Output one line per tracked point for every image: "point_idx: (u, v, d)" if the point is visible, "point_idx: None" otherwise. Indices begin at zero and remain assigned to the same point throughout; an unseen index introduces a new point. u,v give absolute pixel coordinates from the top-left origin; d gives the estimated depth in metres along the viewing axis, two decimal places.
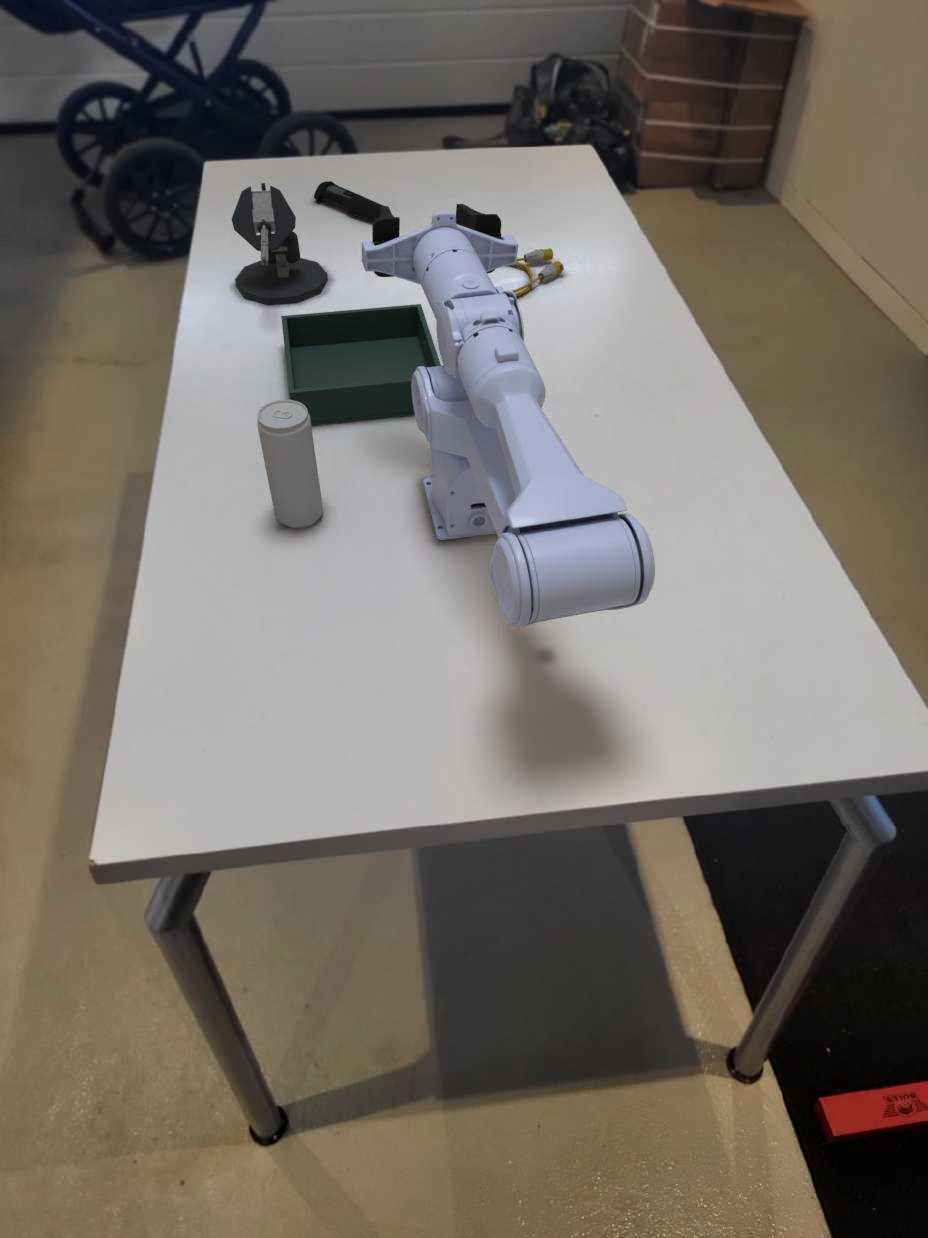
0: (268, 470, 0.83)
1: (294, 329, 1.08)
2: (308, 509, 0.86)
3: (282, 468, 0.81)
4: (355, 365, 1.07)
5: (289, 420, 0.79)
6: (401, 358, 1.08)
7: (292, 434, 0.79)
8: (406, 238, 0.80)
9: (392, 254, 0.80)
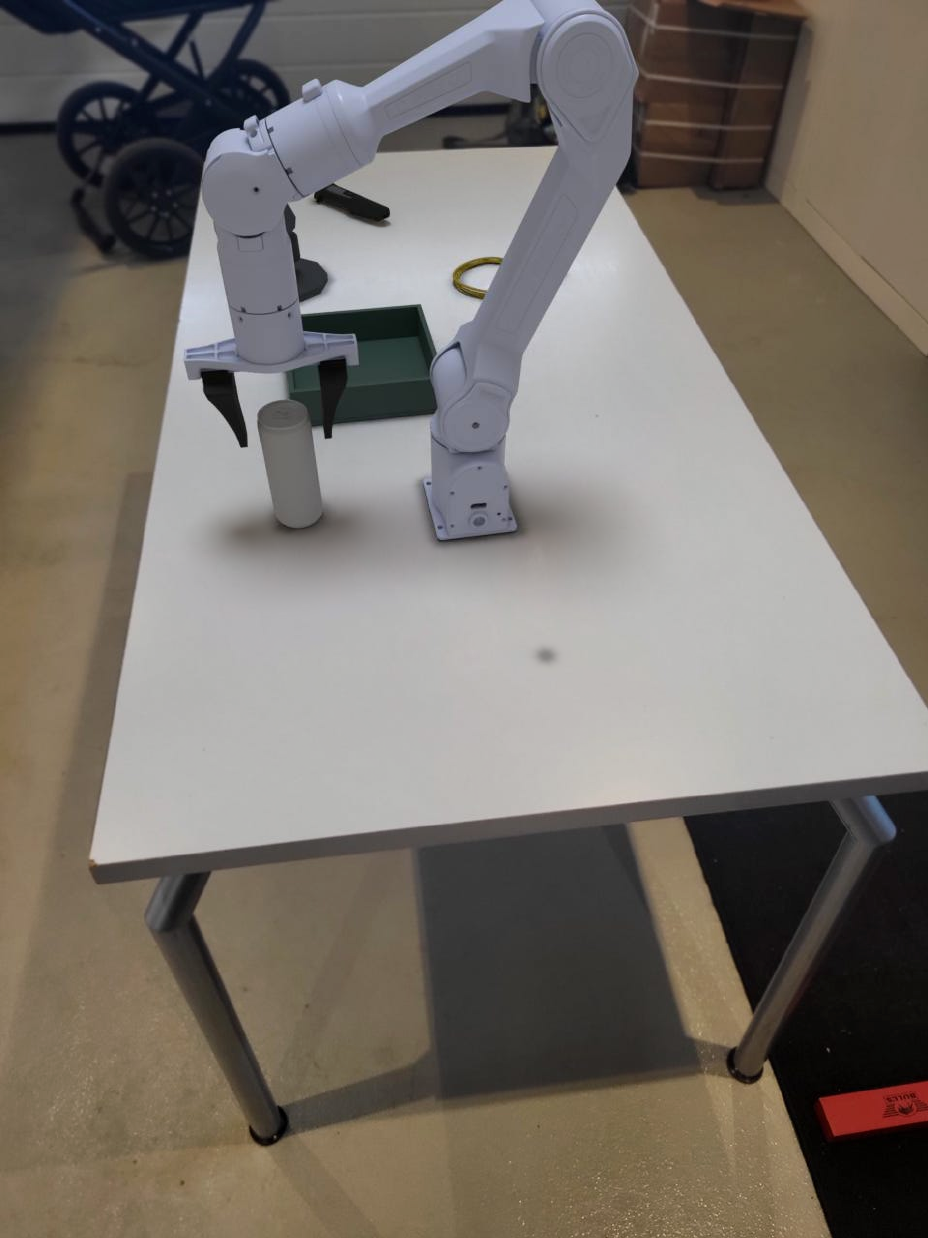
0: (268, 470, 0.83)
1: None
2: (308, 509, 0.86)
3: (282, 468, 0.81)
4: (355, 365, 1.07)
5: (289, 420, 0.79)
6: (401, 358, 1.08)
7: (292, 434, 0.79)
8: (229, 339, 0.76)
9: None
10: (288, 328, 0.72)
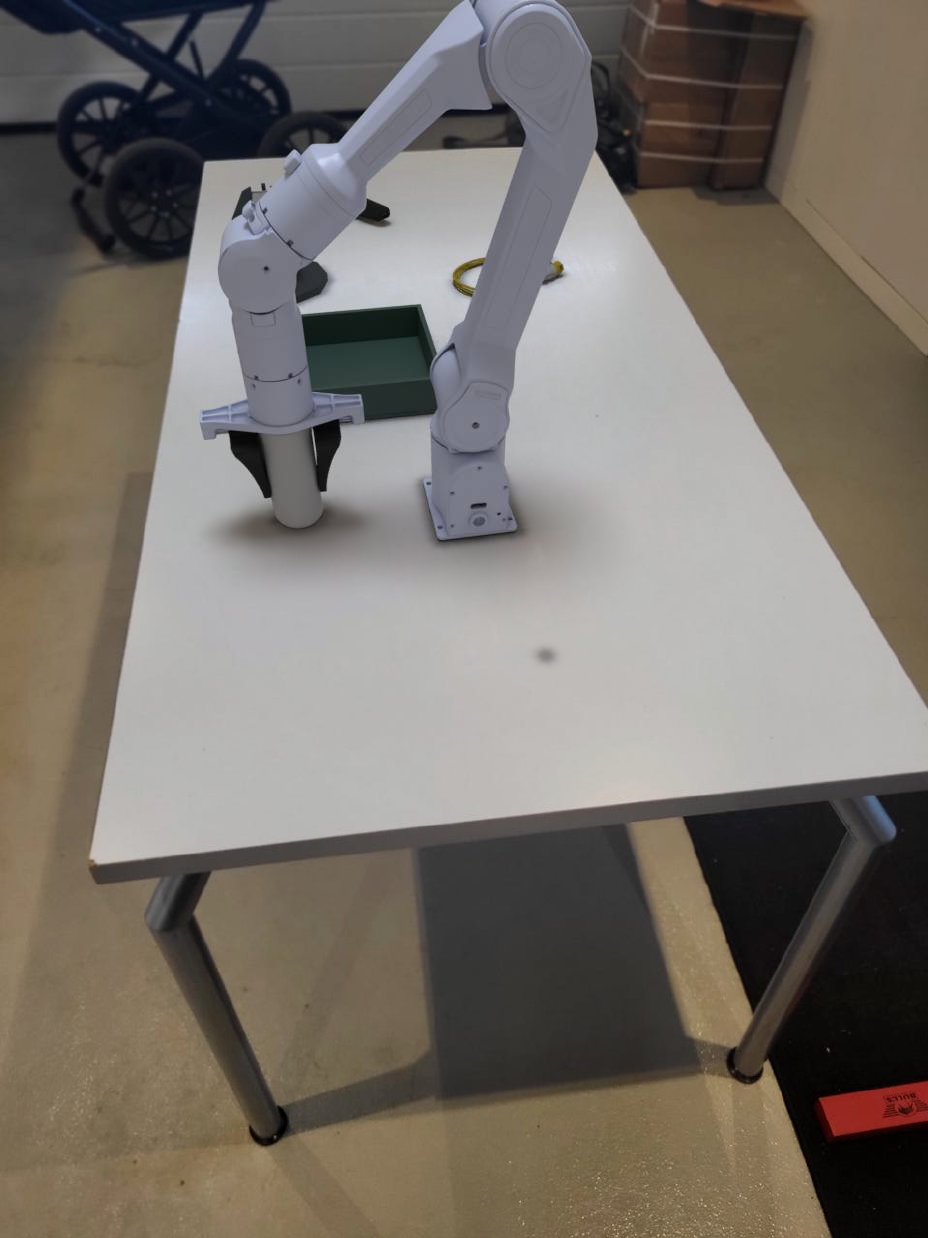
0: (268, 470, 0.83)
1: None
2: (308, 509, 0.86)
3: (282, 468, 0.82)
4: (355, 365, 1.07)
5: None
6: (401, 358, 1.08)
7: (292, 434, 0.79)
8: (242, 400, 0.80)
9: (229, 411, 0.79)
10: (298, 392, 0.76)
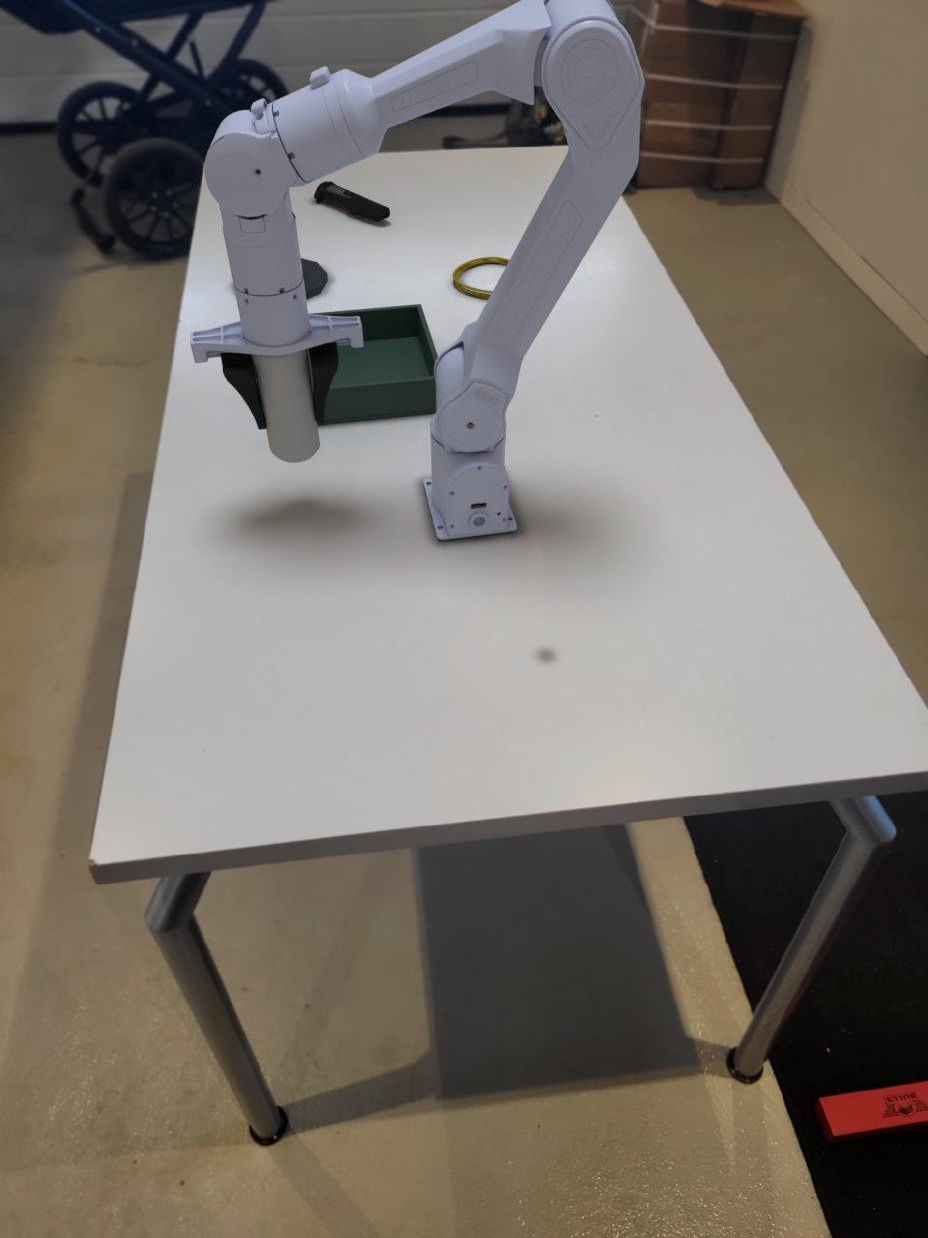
0: (262, 398, 0.79)
1: None
2: (305, 441, 0.82)
3: (277, 395, 0.78)
4: (355, 365, 1.07)
5: None
6: (401, 358, 1.08)
7: (287, 357, 0.75)
8: (235, 322, 0.77)
9: None
10: (293, 309, 0.72)
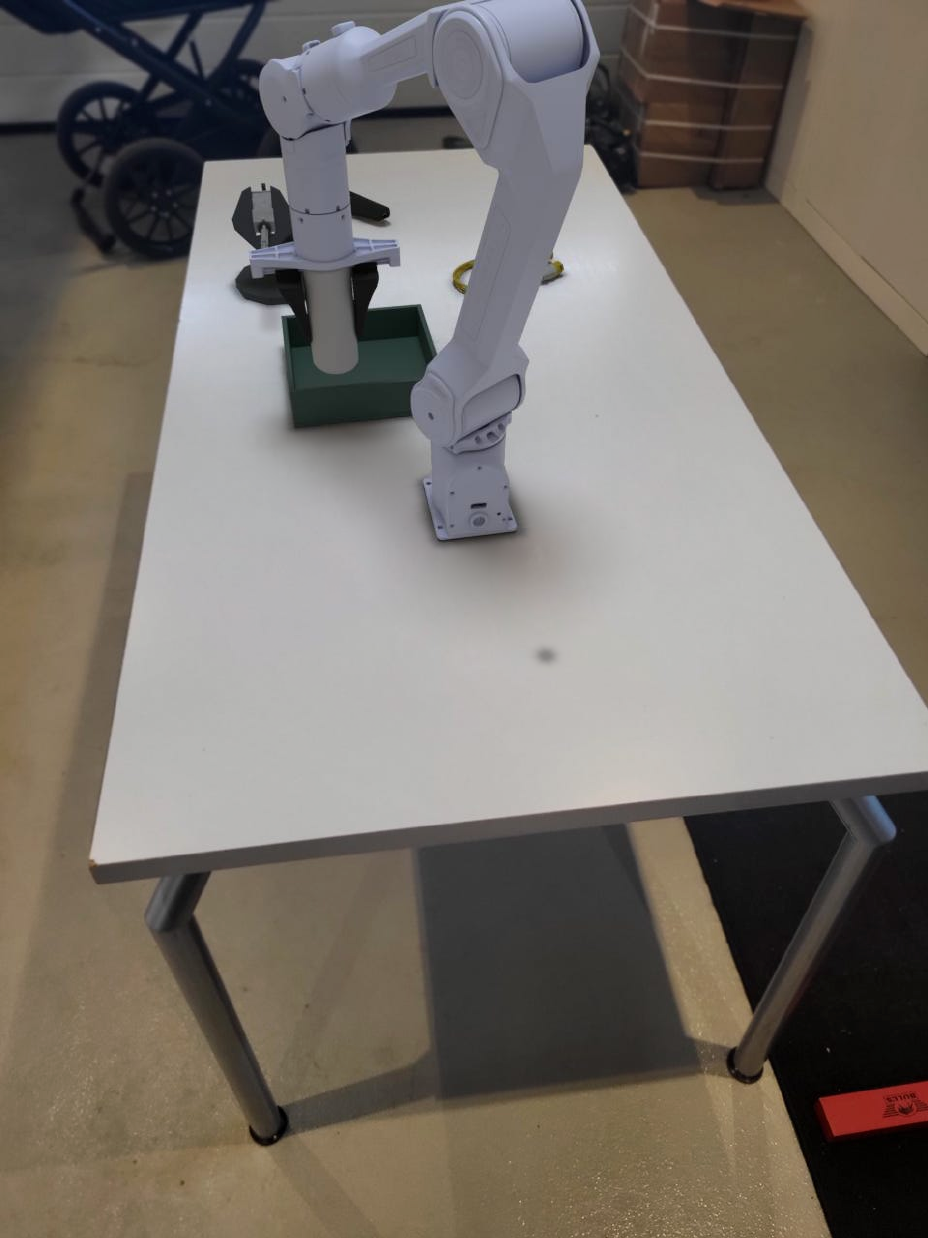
0: (310, 312, 0.89)
1: (294, 329, 1.08)
2: (346, 354, 0.92)
3: (323, 308, 0.88)
4: (355, 365, 1.07)
5: None
6: (401, 358, 1.08)
7: (334, 272, 0.85)
8: (287, 243, 0.87)
9: None
10: (341, 228, 0.83)
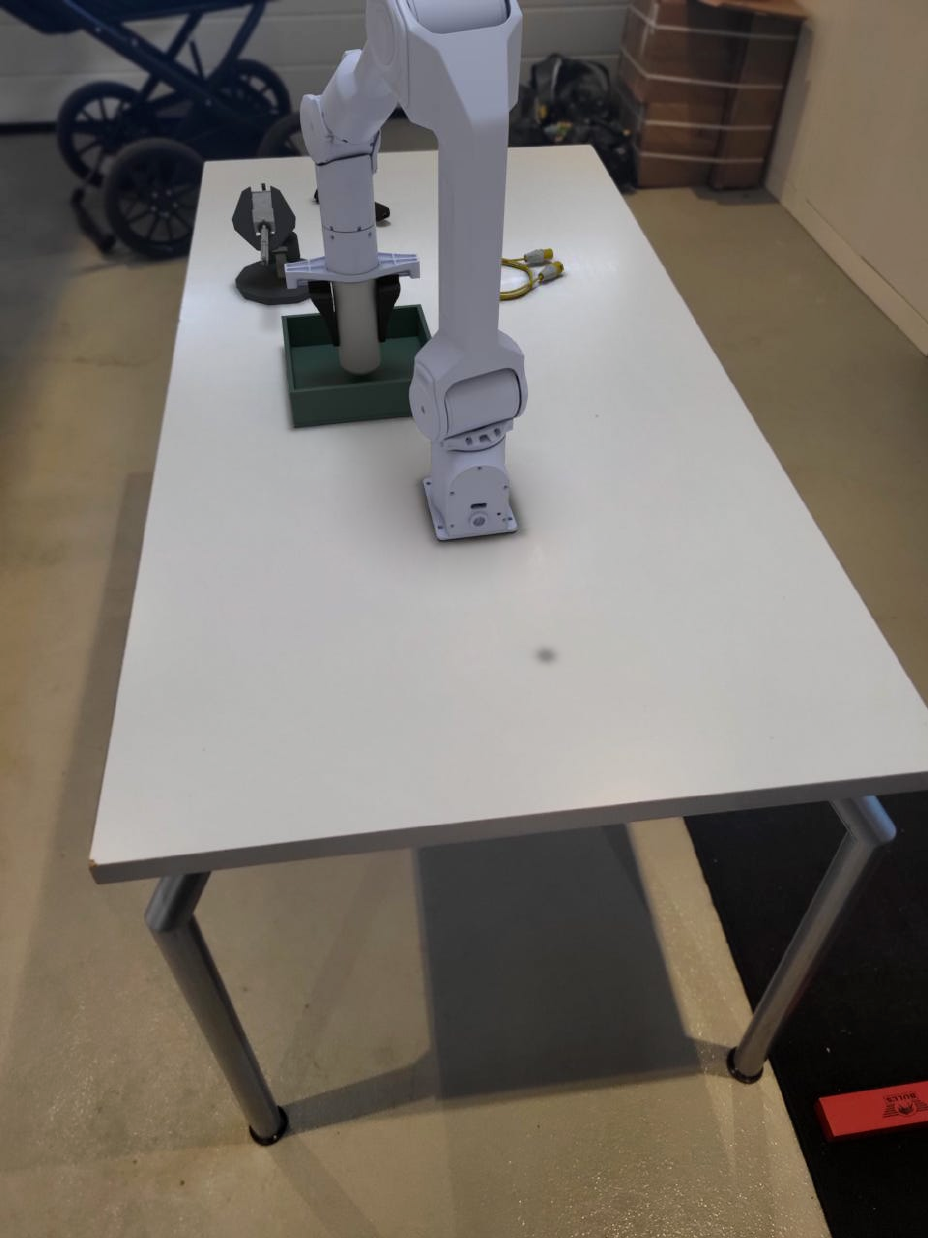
0: (338, 319, 0.99)
1: (294, 329, 1.08)
2: (370, 357, 1.02)
3: (351, 315, 0.98)
4: None
5: None
6: (401, 358, 1.08)
7: (361, 283, 0.95)
8: (318, 257, 0.96)
9: (308, 265, 0.95)
10: (368, 244, 0.92)
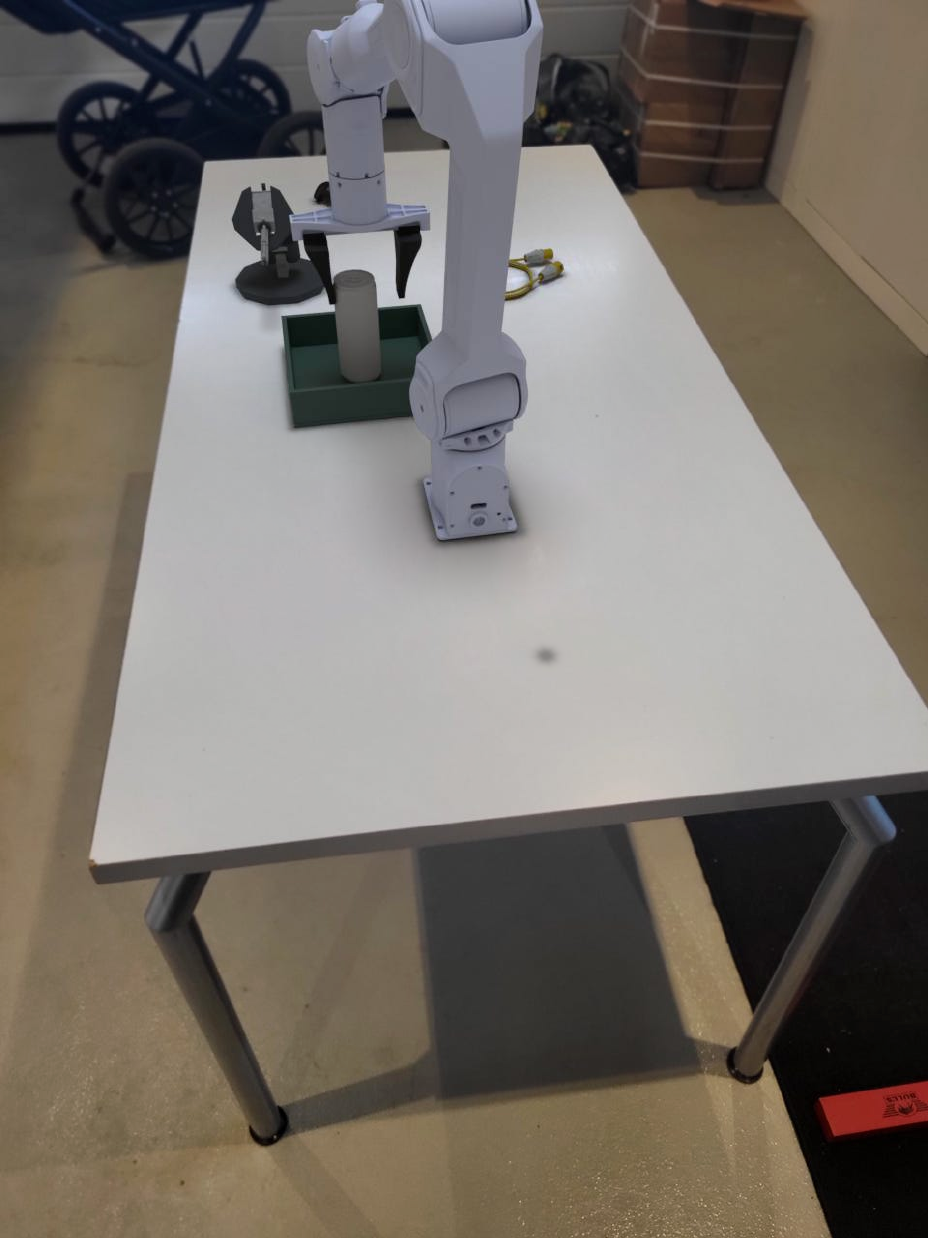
0: (339, 329, 1.00)
1: (294, 329, 1.08)
2: (371, 366, 1.03)
3: (352, 326, 0.98)
4: None
5: (359, 283, 0.96)
6: (401, 358, 1.08)
7: (362, 294, 0.96)
8: None
9: (314, 216, 0.92)
10: (377, 193, 0.89)
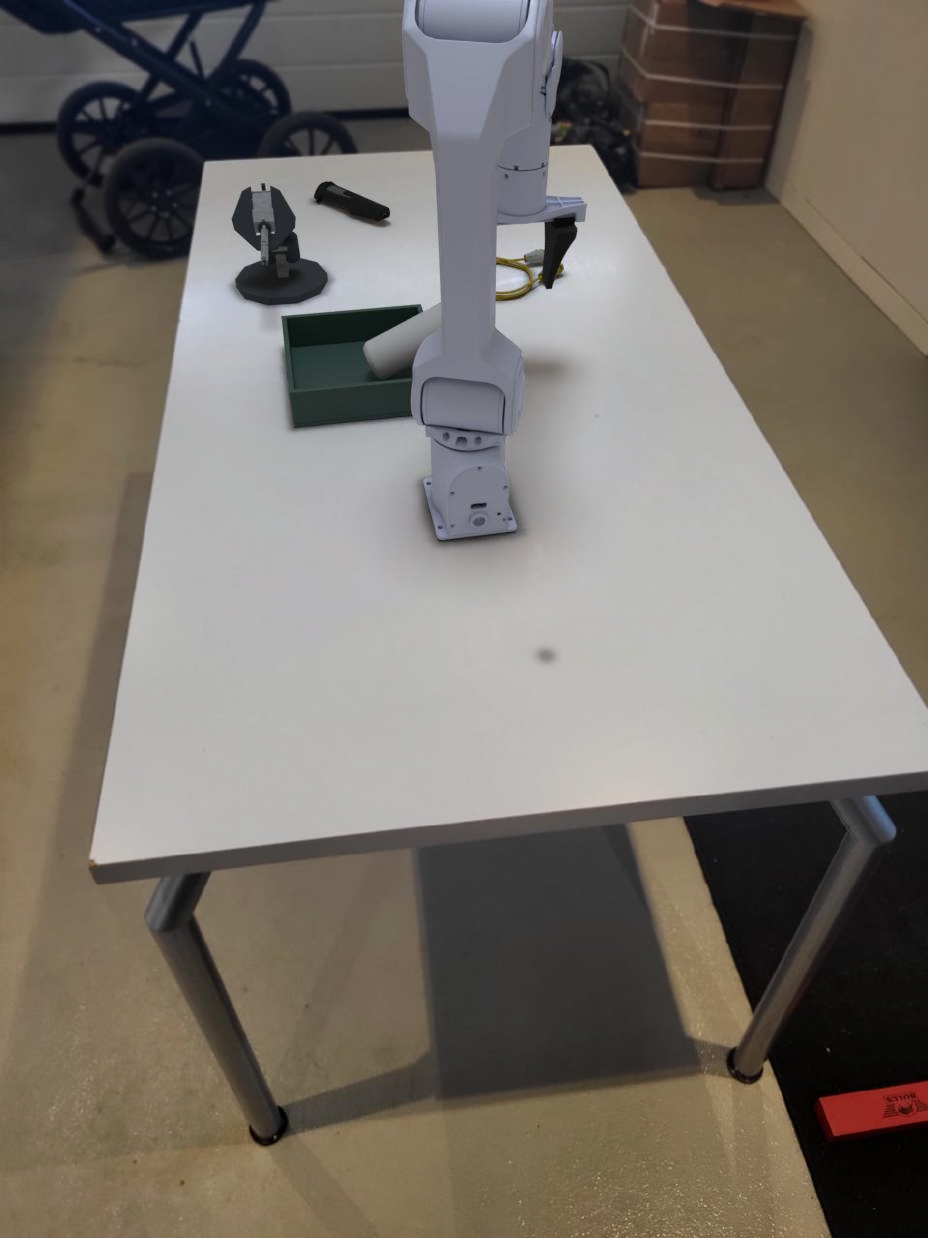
0: (421, 339, 1.00)
1: (294, 329, 1.08)
2: (398, 372, 1.04)
3: None
4: (355, 365, 1.07)
5: None
6: None
7: None
8: None
9: None
10: (541, 184, 0.90)
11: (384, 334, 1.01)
